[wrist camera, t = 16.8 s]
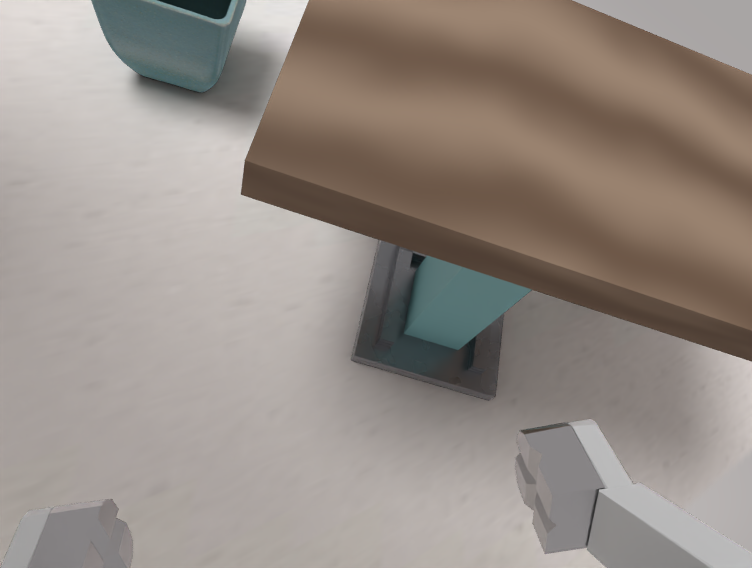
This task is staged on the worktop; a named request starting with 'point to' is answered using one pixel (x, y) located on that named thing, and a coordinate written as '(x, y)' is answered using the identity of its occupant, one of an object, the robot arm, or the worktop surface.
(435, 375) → the seat cradle
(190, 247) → the worktop surface
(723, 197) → the overhang shelf
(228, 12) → the flower pot
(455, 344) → the teal box
